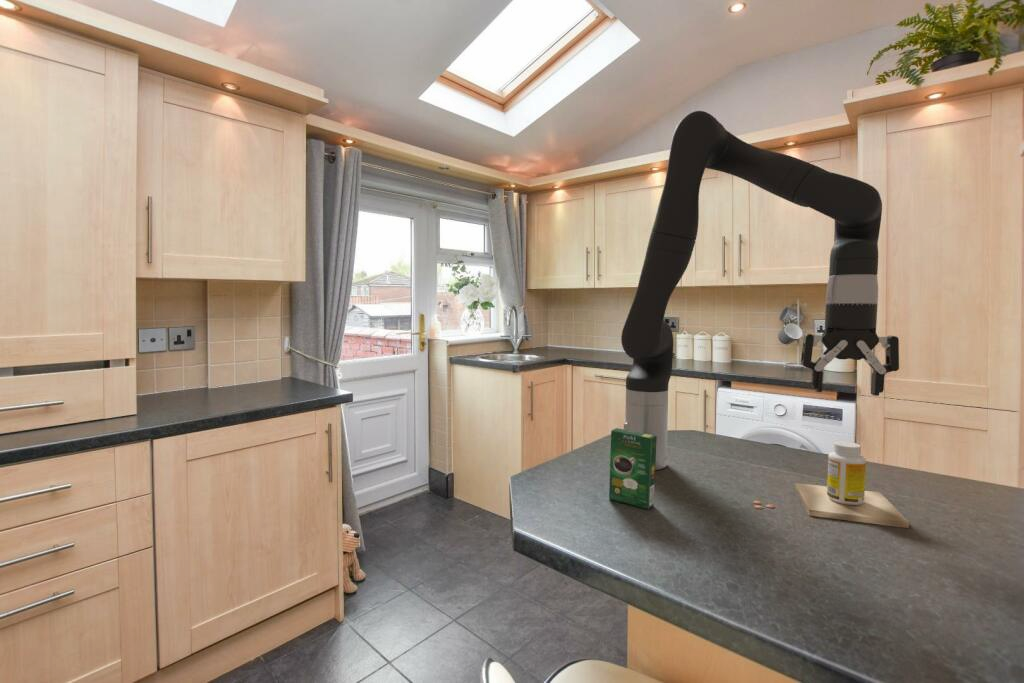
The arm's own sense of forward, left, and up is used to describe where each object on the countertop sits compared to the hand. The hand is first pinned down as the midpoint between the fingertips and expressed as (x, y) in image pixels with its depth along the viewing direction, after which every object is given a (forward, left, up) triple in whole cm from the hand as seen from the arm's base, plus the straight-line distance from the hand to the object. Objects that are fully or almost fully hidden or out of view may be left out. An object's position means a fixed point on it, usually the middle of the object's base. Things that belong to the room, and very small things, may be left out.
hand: (846, 393), depth 88 cm
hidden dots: (-13, -6, -20) cm, 25 cm away
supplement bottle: (0, -1, -19) cm, 19 cm away
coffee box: (-35, -13, -20) cm, 43 cm away
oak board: (+1, -1, -20) cm, 20 cm away
